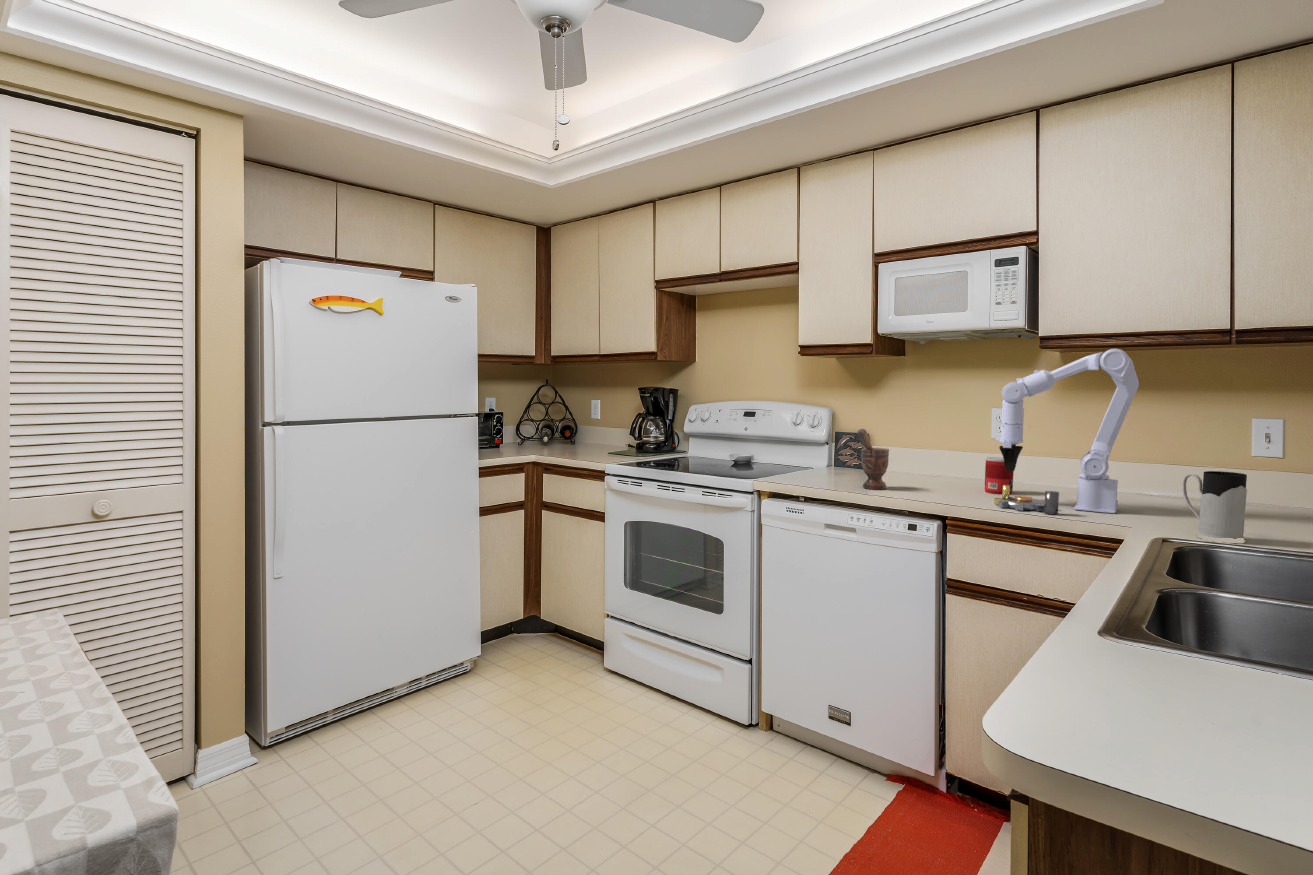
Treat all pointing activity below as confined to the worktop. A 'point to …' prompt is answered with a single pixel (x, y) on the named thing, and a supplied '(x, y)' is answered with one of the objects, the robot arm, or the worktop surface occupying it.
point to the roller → (1051, 502)
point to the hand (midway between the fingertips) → (1010, 470)
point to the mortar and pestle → (873, 462)
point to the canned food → (997, 476)
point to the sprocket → (1018, 501)
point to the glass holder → (1220, 504)
